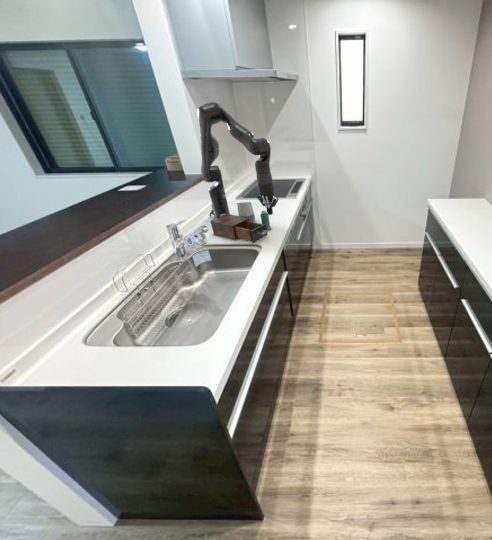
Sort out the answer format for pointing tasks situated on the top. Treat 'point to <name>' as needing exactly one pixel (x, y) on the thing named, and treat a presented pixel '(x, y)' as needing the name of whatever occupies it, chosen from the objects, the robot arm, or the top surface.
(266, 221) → the soap bottle
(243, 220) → the cabinet
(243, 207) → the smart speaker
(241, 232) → the drawer
